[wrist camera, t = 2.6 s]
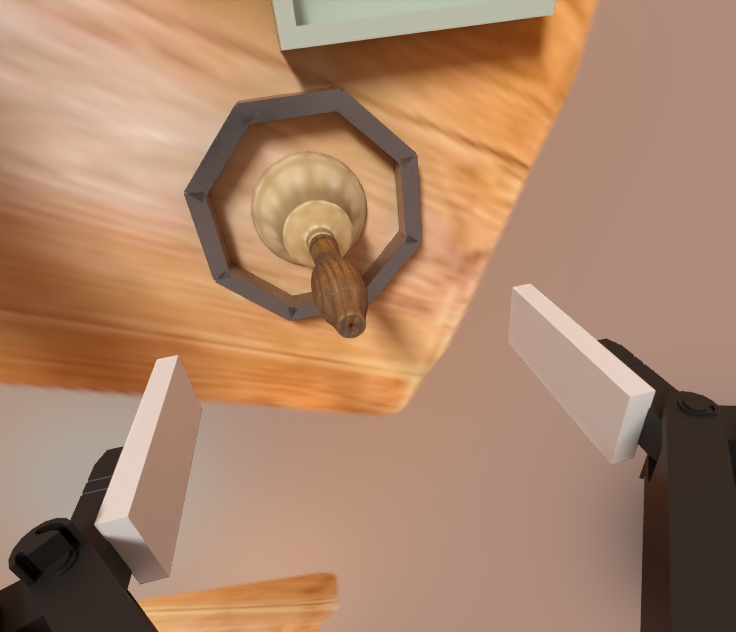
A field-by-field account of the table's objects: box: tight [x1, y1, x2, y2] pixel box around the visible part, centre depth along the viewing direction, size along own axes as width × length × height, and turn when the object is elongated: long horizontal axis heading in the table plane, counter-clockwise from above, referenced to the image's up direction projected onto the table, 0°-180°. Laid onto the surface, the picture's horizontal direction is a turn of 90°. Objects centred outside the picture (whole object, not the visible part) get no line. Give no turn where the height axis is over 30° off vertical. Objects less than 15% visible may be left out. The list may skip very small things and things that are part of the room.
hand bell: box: [252, 152, 368, 338], centre depth 24 cm, size 8×8×16 cm
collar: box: [184, 87, 421, 321], centre depth 30 cm, size 15×15×2 cm
